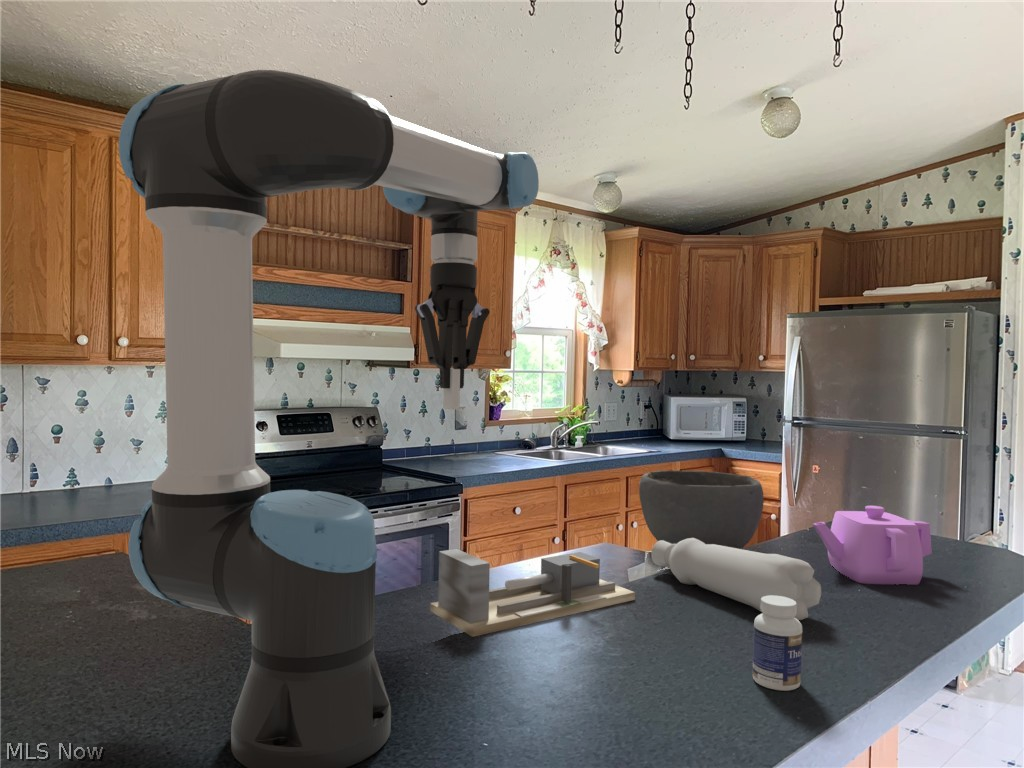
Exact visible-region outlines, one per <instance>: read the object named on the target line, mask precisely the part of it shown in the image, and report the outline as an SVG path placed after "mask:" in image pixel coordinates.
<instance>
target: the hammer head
mask: <svg viewBox="0 0 1024 768" xmlns="http://www.w3.org/2000/svg"><path fill="white" fill-rule="evenodd" d="M571 569H572V566H571V565H568V564H563V565H562V601H564V602H566V603H568V602H571Z"/></svg>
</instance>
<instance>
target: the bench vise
mask: <svg viewBox="0 0 1024 768" xmlns="http://www.w3.org/2000/svg"><path fill="white" fill-rule="evenodd" d="M490 564H491V563H490V562H488V561H487V560H484V559H481V558H479V557H477V556H474V555H472V554H470V553H468V552H465V551H463V550H461V549H459V548H453V549H446V550H440V551H439V552H438V592H437V593H438V594H437V596H438V599H437V600H438V601H436V602H435V601H434V602H430V603H429V604H430V613H432V614H435V615H436V616H437V617H439V618H440V619H442V620H444V621H445V622H447V623H448V624H451V625H452V626H453V627H455V628H457V629H459V630H461V631H462V632H463V633H466V634H467V635H468V636H470V637H472V638H473V637H478V636H481V635H482V636H483V635H486V634H492V633H495V632H500V631H505V630H508V629H514V628H516V627H521V626H526V625H531V624H534V623H541V622H543V621H547V620H552V619H556V618H561V617H565V616H569V615H575V614H578V613H584V612H587V611H591V610H592V611H593V610H596V609H601V608H605V607H609V606H613V605H618V604H622V603H627V602H630V601H635V600H636V598H635V597H636V592H635V591H633V590H630V589H627V588H625V587H622V586H619V585H617V584H616V582H614V581H606V580H604V579H601V578H599V584H597V585H592V586H587V587H583V588H578V589H573V590H571V602H568V603H566V602H564V601H562V592H558V593H553V594H552V593H549V592H547V591H545V590H542V589H541V584H538V585H533V586H528V587H523V588H518V589H512V590H507V589H506V587H505V586H504V587H499V588H492V589H490V571H491V570H490V567H491V566H490Z"/></svg>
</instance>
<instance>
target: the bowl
mask: <svg viewBox="0 0 1024 768" xmlns="http://www.w3.org/2000/svg"><path fill="white" fill-rule="evenodd" d="M640 477H641V478H640V480H639V482H638V485H639V486H638V495H639V501H640V506H641V512H642V514H643V515H642V516H643V518H644V520H645V523H646V527H647V528H648V530H649V531H650V533H651V535H652V536H653V537H654V539H655V540H656V542H658V541H660V540H664V541H666V542H669V543H671V544H677V543H678V542H680V541H682V540H685V539H688V538H695V539H698V540H700V541H702V542H704V543H705V544H715V545H721V546H726V547H732V548H737V549H743V548H744V547H746V545H748V544H749V542H750V541H752V539H753V537H754V536H755V533H756V532H757V530H758V527H759V526H760V525H759V524H760V521H761V518H762V514H763V510H764V503H765V502H764V491H763V490H764V489H763V486H762V484H761V482H760V481H759V480H758V479H755V478H753V477H751V476H750V475H744V474H743V475H742V474H734V473H727V472H717V471H707V470H705V471H704V470H661V469H660V470H655V471H649V472H646V473H644V474H642V476H640Z"/></svg>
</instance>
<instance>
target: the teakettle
mask: <svg viewBox="0 0 1024 768" xmlns="http://www.w3.org/2000/svg"><path fill="white" fill-rule="evenodd" d="M864 508H865V511H862V510H861V511H860V510H837V511H835V512H834V516H833V519H832V523H831V527H830V528H829V526H828V525H827V523H826V522H824V521H819V522H818V521H817V522H813V523H812V524H813V527H814V529H815V531H816V532H817V534H818V536H819V538H820V539H821V541H822V543H823V544H824V546H825V548H826V549H827V556H828V557H827V558H828V562H829V564H831V565H830V566H831V567H832V566H833V567H834V568H835V569H836V570H837V571H836V570H835V569H834V568H833V567H832V568H833V569H834V570H835V571H836V572H838V571H839V572H840V573H839V572H838V573H839V574H841V573H842V574H843V576H844V575H845V576H844V577H846V576H847V577H846V578H848V577H849V578H848V579H850V580H852V581H854V582H856V583H859V584H865V585H894V584H896V585H898V586H899V584H907V585H906V586H908V585H909V586H911V585H913V586H916V585H917V586H918V585H920V582H921V580H922V578H923V575H924V574H923V573H924V559H923V558H925V557H926V556H929V555H930V554H931V555H932V553H933V552H932V536H931V523H929V522H926V521H923V520H911V519H910V520H909V519H907V518H904V517H901V516H898V515H895V514H893V513H889V512H886V511H885V510H886V509H885V507H882V506H878V505H865V506H864ZM842 574H841V575H842ZM894 586H895V585H894Z"/></svg>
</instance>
